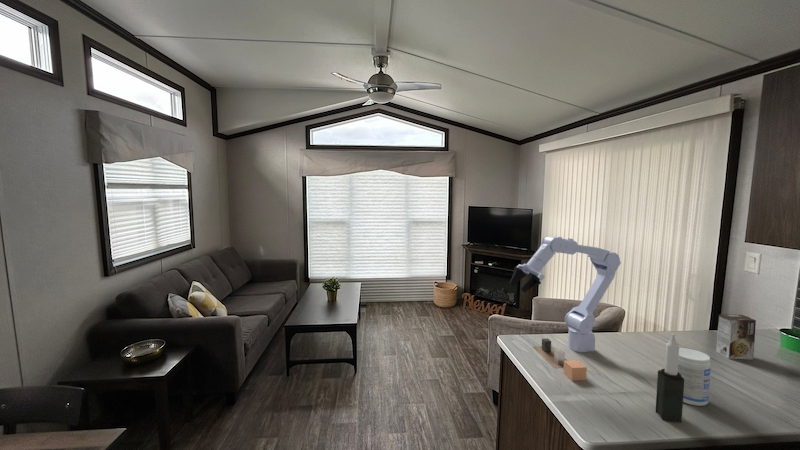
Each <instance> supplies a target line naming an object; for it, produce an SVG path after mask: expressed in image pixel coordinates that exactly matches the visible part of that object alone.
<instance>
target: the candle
mask: <svg viewBox="0 0 800 450" xmlns="http://www.w3.org/2000/svg"><path fill="white" fill-rule="evenodd" d="M679 348H680V345H679V344H678V343H677V340H676V335H675V334H674V333H671V338H670V339H669V341H668V342H667V343H666V344H665V361H664V368H662V369H660V370H659V369H658V371H657V382H656V397H655V413H657V415H658V416H659V418H660V419H661V420H662V421H665V422H670V423H672V422H673V423H682V420H683V408H684V407H683V404H684V402H683V393H684V378H683V377H682V376H681V374H679V372H678V359H679Z"/></svg>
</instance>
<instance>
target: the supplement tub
mask: <svg viewBox="0 0 800 450" xmlns="http://www.w3.org/2000/svg"><path fill="white" fill-rule="evenodd" d="M711 363H712V362H711V357H710V355H708V354H706V353H704V352H702V351H699V350H695V349H692V348H686V347H679V359H678V372H679V374H681V376H682V377H683V378H684V393H683V404H684V403H685V404H688V405H691V406H697V407H701V406H706V405H707V404H709V399H710V397H709V396H710V384H711V382H710V381H711V370H712V369H711V368H712V367H711Z"/></svg>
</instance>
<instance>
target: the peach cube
mask: <svg viewBox="0 0 800 450" xmlns="http://www.w3.org/2000/svg"><path fill="white" fill-rule="evenodd" d="M587 369H588V368H587V366H586V365H585V364H583V363H582V362H581V361H579V360H578V359H574V360H573V359H572V360H571V359H570V360H568V361H564V368H563V374H564V375H565V376H566V377H567V378H568V379H569V380H570V381H572V382H573V381H587Z"/></svg>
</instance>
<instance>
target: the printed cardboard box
mask: <svg viewBox="0 0 800 450" xmlns="http://www.w3.org/2000/svg"><path fill="white" fill-rule="evenodd" d="M717 324H718V325H717V335H716V336H717V337H716V350H715V351H716V353H717V354H719V355H721V356H723V357H724V358H726V359H727V360H754V355H755V340H756V327H757V326H756V325H757V320H756V319H753V318H752V317H749V316H747V315H744V314H729V313H728V314H726V313H725V314H723V313H722V314H718V320H717Z"/></svg>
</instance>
